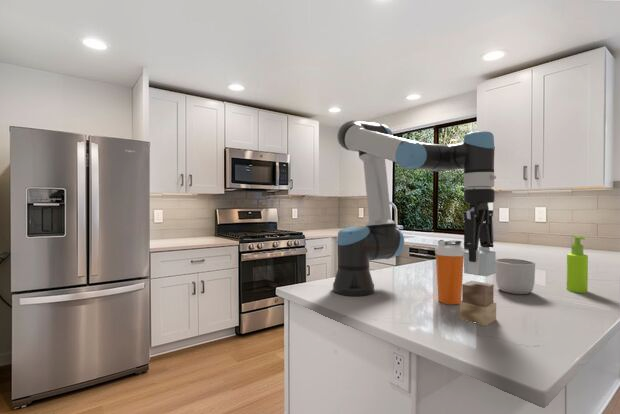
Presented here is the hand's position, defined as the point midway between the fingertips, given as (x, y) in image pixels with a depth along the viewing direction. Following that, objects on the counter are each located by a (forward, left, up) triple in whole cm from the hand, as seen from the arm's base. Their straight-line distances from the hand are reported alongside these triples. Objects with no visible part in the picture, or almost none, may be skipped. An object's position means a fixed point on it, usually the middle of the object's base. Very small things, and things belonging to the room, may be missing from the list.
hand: (479, 271), depth 92 cm
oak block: (0, 0, -13) cm, 13 cm away
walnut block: (0, 0, -9) cm, 9 cm away
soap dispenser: (+12, +55, -14) cm, 58 cm away
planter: (-3, +39, -14) cm, 41 cm away
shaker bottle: (-13, +9, -14) cm, 21 cm away
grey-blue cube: (0, 0, 0) cm, 0 cm away
